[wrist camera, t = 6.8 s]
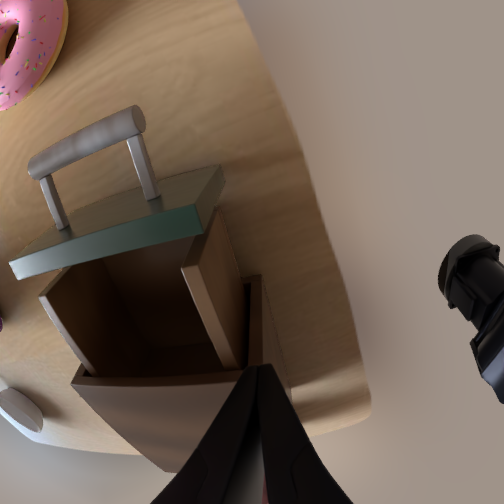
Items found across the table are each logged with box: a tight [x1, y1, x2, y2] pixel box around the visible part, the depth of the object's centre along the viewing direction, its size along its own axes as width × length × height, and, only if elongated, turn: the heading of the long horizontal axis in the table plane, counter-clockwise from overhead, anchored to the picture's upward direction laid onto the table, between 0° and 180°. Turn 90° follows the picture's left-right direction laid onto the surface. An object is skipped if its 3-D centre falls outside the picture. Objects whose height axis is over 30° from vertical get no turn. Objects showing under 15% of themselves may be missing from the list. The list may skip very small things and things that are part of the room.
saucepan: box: [0, 388, 43, 433], centre depth 34 cm, size 11×18×4 cm, turn 59°
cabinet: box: [70, 275, 293, 473], centre depth 21 cm, size 15×13×10 cm
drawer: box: [9, 105, 250, 377], centre depth 16 cm, size 18×11×8 cm, turn 13°
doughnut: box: [0, 0, 68, 110], centre depth 11 cm, size 11×11×4 cm
